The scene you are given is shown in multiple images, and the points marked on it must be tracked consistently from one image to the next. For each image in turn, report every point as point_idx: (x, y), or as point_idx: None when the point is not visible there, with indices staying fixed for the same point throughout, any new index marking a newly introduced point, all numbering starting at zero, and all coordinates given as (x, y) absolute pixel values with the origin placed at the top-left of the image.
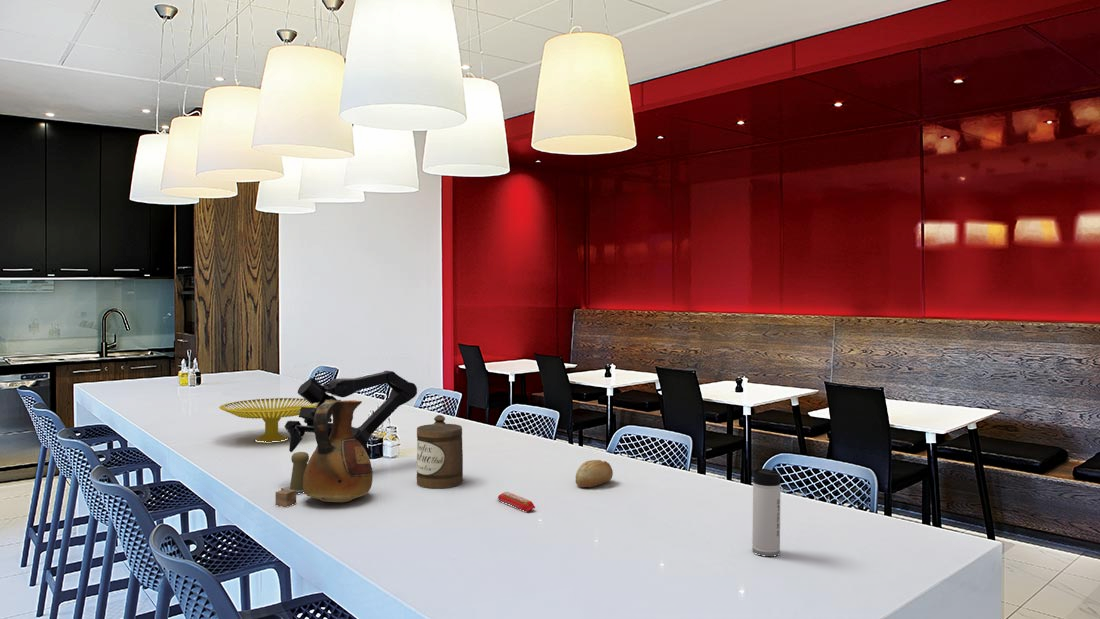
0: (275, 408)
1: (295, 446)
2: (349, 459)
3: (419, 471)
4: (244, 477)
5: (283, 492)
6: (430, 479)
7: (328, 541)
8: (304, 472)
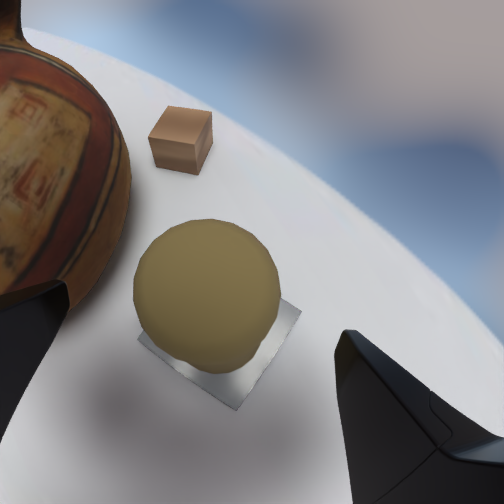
0: None
1: (348, 426)
2: None
3: None
4: (494, 425)
5: (182, 112)
6: None
7: (65, 52)
8: (104, 103)
